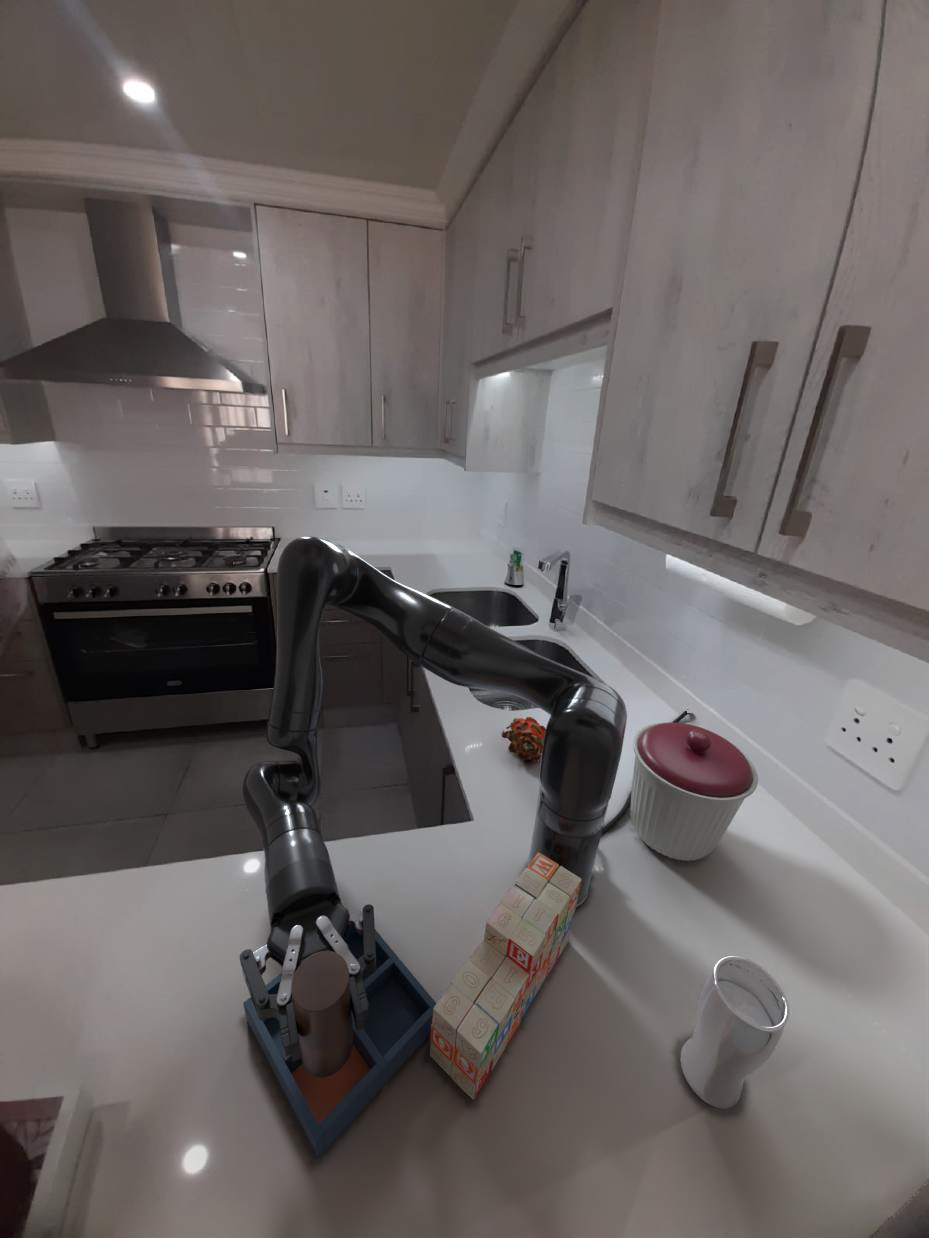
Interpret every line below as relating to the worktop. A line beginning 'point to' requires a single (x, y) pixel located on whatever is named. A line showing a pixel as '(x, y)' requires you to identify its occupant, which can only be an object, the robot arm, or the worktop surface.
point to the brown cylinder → (323, 1013)
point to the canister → (686, 788)
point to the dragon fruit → (526, 738)
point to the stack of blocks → (503, 973)
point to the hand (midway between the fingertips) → (329, 1038)
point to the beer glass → (733, 1030)
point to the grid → (375, 1054)
